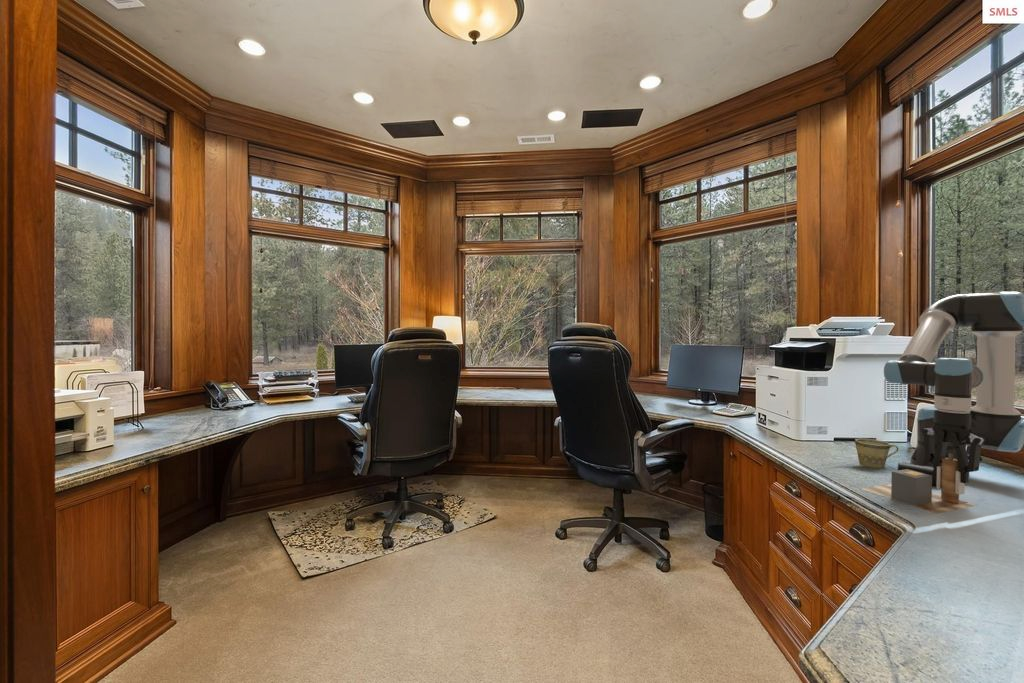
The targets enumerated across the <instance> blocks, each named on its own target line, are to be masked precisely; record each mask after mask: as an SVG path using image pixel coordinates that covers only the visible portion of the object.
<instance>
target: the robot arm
mask: <svg viewBox="0 0 1024 683" xmlns="http://www.w3.org/2000/svg"><path fill="white" fill-rule="evenodd" d="M918 324H919V325H918V326H917V329H916V330H915V331H914V334H913V335H912V337H911V339H910V341H909V343H908V344H907V346H906V348H905V350H904V351H903V353H902V355H901V356H900V358H899V359H898V360H895V359H894V360H889V361H886V362H885V364H884V367H883V376H884V379H885V381H887V382H888V383H892V384H899V385H910V386H911V385H912V386H926V387H927V386H929V387H934V400H933V406H927V407H921V408H920V409H919V410H918V412H917V418H916V421H917V422H916V423H917V424H916V425H917V427H916V428H917V431H916V432H917V435H916V447H915V449H914V451H913V453H912V455H911V457H910V461H909V462H910V463H911V464H913V465H919V466H929V467H933V474H934V476H937V486H935V487H936V489H938V490H941V482H942V458H948V456H949V454H953V459H957V461H958V466H959V470H958V471H956V479H955V494H959V495H962V494H965V489H966V488H965V487H966V485H965V484H968V483H969V482H970V473H973V472H974V473H975V472H978V471H979V470H980V463H981V462H980V461H981V452H982V449H987V450H995V451H997V452H1008V453H1017V452H1019V451H1021V449H1023V447H1024V418H1023V417H1022V412H1020V410H1018V409H1016V408H1015V386H1016V385H1015V377H1016V376H1015V375H1016V337H1017V336H1018V335H1020V334H1022V333H1023V331H1024V329H1023V327H1024V293H1022V292H1019V291H997V292H995V291H994V292H981V293H980V292H979V293H977V292H976V293H962V294H961V293H959V294H953V295H950V296H947V297H943V298H942V299H939V300H937V301H936V302H934V303H933V304H931V305H929V306H928V307H927V308H926V309H924V310H923V312H922V313H921V315H920V316H919V318H918ZM958 327H964V328H965V327H968V328H969V327H970V332H971V333H972V334H973V335H975V336H976V338H977V342H976V345H977V347H976V349H977V350H976V351H977V352H976V365H975V364H973V361H972V360H971V358H963V357H962V358H961V357H939V358H936V359H935V362H932V361H933V359H934V358H935V356H936V354H937V352H938V350H939V348H940V347H941V345H942V343H943V341H944V339H945V337H946V336H947V334H948V333H949V332H951V331H952V330H954V328H958ZM974 388H976V401H975V402H976V404H975V405H973V406H972V389H974ZM967 446H968V447H969V453H968V452H967V449H966V448H967ZM968 454H969V456H968Z"/></svg>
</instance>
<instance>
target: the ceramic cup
mask: <svg viewBox="0 0 1024 683" xmlns="http://www.w3.org/2000/svg"><path fill="white" fill-rule="evenodd" d="M854 441H855V448H856V452H857V458H858V464H859V466H861V467H868V468H873V469H884V468H885V466H886V462H887V459H888V458H890V457H891V456H892V455H894V454H896V453H897V452H899V447H898V446H897V445H895V444H890V443H889V442H887V441H884V440H879V439H874V438H873V439H870V438H855V439H854ZM893 447H895V448H896V450H895V451H894V452H891V453H890V454H889V452H890V449H891V448H893Z"/></svg>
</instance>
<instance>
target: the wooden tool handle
mask: <svg viewBox="0 0 1024 683" xmlns="http://www.w3.org/2000/svg"><path fill="white" fill-rule="evenodd" d="M958 470H959V466H958V461H957V459H953V454H949V456H948V458H942V482H941V489H940V490H941V491H940V493H941V494H940V495H941V499H942V500H944V501H948V502H953V503H958V502H959V500H960V494H955V479H956V471H958Z"/></svg>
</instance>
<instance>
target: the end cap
mask: <svg viewBox="0 0 1024 683" xmlns="http://www.w3.org/2000/svg"><path fill="white" fill-rule="evenodd" d="M905 469H909V470H913V471H916V472H920V473H924V474H928V475H932V487H936V486H937V476H934V474H933V467H929V466H919V465H913V464H911V463H909V462H906V461H905V462H903V461H902V462H898V464H897V471H898V470H905Z"/></svg>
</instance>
